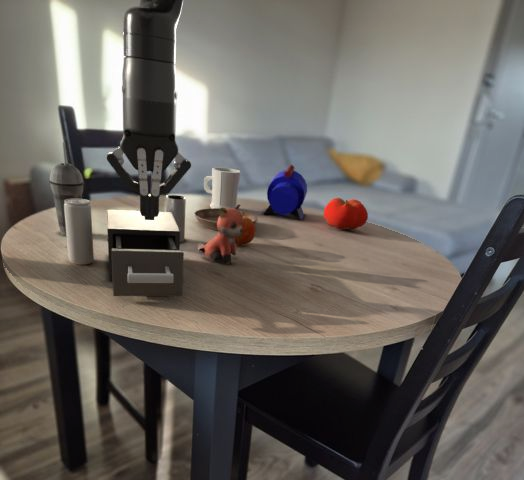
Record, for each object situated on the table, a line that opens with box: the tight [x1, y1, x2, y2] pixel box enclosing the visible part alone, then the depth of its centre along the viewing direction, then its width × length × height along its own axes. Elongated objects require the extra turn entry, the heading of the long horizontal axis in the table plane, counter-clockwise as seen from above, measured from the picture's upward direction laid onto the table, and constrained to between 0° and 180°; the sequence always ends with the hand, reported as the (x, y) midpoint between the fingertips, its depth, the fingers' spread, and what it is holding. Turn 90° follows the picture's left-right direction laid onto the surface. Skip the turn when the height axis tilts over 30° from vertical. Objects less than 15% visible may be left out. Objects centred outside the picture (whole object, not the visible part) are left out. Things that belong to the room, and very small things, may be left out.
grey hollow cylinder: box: [165, 194, 187, 243], centre depth 115 cm, size 4×4×10 cm
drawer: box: [112, 234, 185, 297], centre depth 84 cm, size 19×12×8 cm, turn 16°
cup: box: [203, 167, 241, 209], centre depth 151 cm, size 10×9×12 cm
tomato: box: [323, 197, 369, 231], centre depth 146 cm, size 14×13×9 cm
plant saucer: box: [193, 207, 258, 231], centre depth 135 cm, size 18×18×3 cm
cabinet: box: [106, 209, 181, 282], centre depth 95 cm, size 15×13×10 cm
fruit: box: [234, 211, 256, 246], centre depth 119 cm, size 7×7×8 cm
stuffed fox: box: [197, 204, 243, 265], centre depth 106 cm, size 8×11×12 cm
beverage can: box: [64, 198, 95, 266], centre depth 94 cm, size 5×5×12 cm
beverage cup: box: [49, 141, 85, 237], centre depth 109 cm, size 7×7×20 cm
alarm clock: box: [263, 164, 308, 221], centre depth 153 cm, size 12×12×15 cm
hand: (149, 218), depth 77 cm, fingers closed
